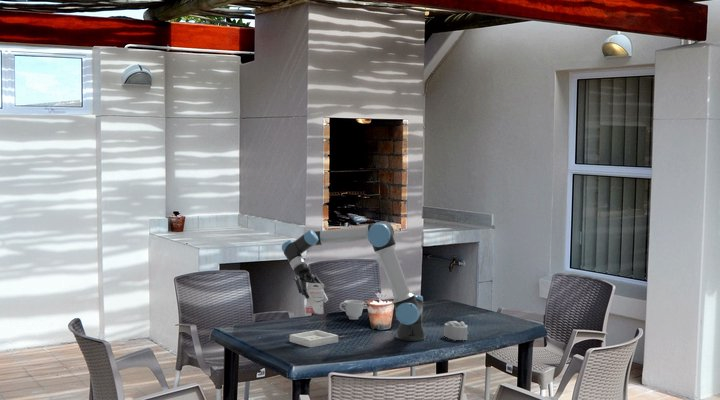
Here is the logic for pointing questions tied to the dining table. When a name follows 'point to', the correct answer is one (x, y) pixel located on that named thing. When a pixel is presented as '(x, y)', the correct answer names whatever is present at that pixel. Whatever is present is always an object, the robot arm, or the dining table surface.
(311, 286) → the ink cartridge box
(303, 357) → the dining table surface
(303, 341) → the tray
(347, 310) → the teacup
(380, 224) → the robot arm
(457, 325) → the lumpy-topped squat cylinder
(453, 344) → the dining table surface
